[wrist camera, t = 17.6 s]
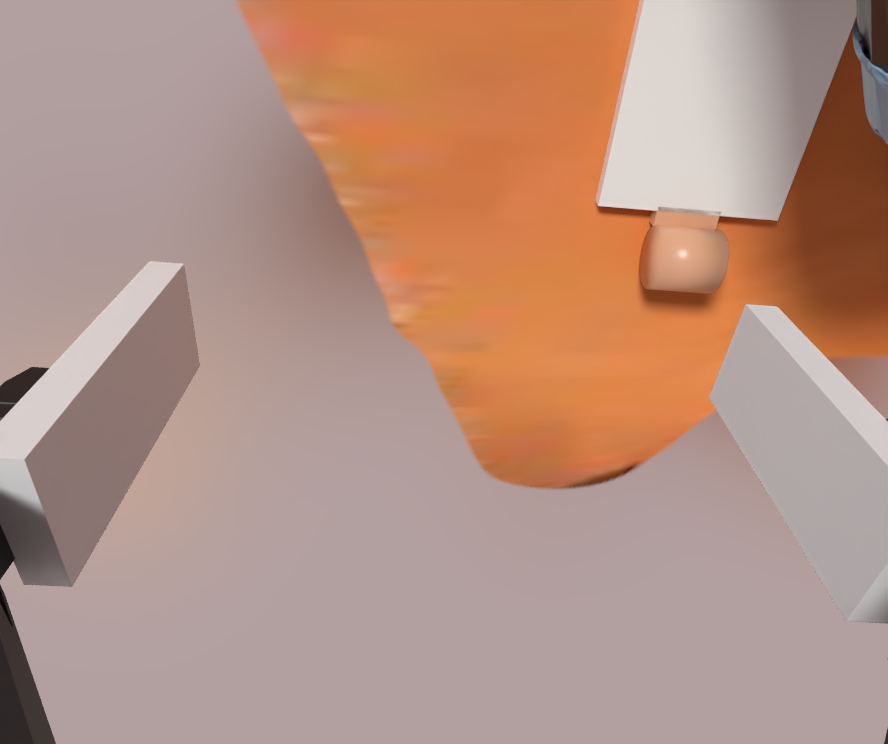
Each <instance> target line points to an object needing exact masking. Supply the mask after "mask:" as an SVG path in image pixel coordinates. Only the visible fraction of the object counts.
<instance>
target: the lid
mask: <svg viewBox="0 0 888 744" xmlns="http://www.w3.org/2000/svg"><path fill="white" fill-rule="evenodd" d="M856 16H857V2H856V0H640V2H639V6H638V11H637V15H636V20H635V24H634V29H633V33H632V38H631V42H630V47H629V51H628V56H627V60H626V65H625V69H624V74H623V78H622V83H621V87H620V92H619V97H618V101H617V106H616V110H615V115H614V119H613V124H612V128H611V133H610V137H609V142H608V146H607V151H606V155H605V160H604V164H603V169H602V173H601V178H600V182H599V187H598V191H597V196H596V200H595V202H596V203H597V205H598V206H604V207H616V208H629V209H641V210H652V212H651V216H650V220H649V222H650V223H651V224H652V227H651V228H650V229H649V231H648V232H647V234H646V236H645V239H644V242H643V245H642V249H641V254H640V264H639V273H640V280H641V283H642V285H643V287H644V288H645V289H650V290H664V291H677V292H690V293H704V294H711V293H713V292H715V291H716V290H717V289H718V288H719V286H720V285H721V283H722V281H723V279H724V276H725V274H726V270H727V266H728V260H729V245H728V240H727V237H726V235H725V234H724V232H723V231H721V230H715V229H716V226H717V223H718V220H719V217H720V216H727V217H739V218H751V219H764V220H776V221H778V218H779V216H780V213H781V211H782V208H783V205H784V203H785V200H786V198H787V195H788V193H789V190H790V187H791V185H792V182H793V180H794V177H795V174H796V172H797V169H798V167H799V164H800V161H801V159H802V156H803V154H804V151H805V148H806V146H807V143H808V141H809V138H810V136H811V133H812V130H813V128H814V125H815V123H816V120H817V117H818V115H819V112H820V110H821V107H822V104H823V102H824V99H825V97H826V94H827V91H828V89H829V86H830V84H831V81H832V79H833V76H834V73H835V71H836V68H837V66H838V63H839V60H840V58H841V55H842V53H843V50H844V47H845V45H846V42H847V40H848V37H849V34H850V32H851V29H852V27H853V24H854V21H855V19H856Z"/></svg>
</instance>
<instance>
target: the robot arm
mask: <svg viewBox="0 0 888 744" xmlns="http://www.w3.org/2000/svg"><path fill="white" fill-rule="evenodd" d="M856 2H857V22H856V24H855V26H854V29H853V46H854V49H855V53H856V56H857V57H858V59H859V61H860V62H861V69H862V81H863V92H864V103H865V111H866V115H867V118H868V121H869V123H870V126H871V128H872V129H873V131H874V132H875V133H876V134H877V135H878V136H880V137H881V138H882V139H884V140H885V142H886V144H888V0H856ZM199 366H200V363H199V357H198V351H197V344H196V337H195V331H194V325H193V319H192V313H191V305H190V299H189V293H188V286H187V280H186V273H185V267H184V264H180V263H165V262H152V261H150V262H149V263H148V264H147V265H146V266H145V267H144V268H143V269H142V270H141V271H140V272H139V273H138V274H137V275H136V276H135V277H134V279H133V280H132V281H131V282H130V283H129V284H128V285H127V286H126V287H125V288H124V289H123V290H122V291H121V293H119V295H118V296H117V297H116V298H115V299H114V300H113V301H112V302H111V303H110V304H109V305H108V306H107V307H106V308H105V310H104V311H103V312H102V313H101V314H100V315H99V316H98V317H97V318H96V319H95V320H94V321H93V322H92V323H91V325H90V326H89V327H88V328H87V329H86V330H85V331H84V332H83V333H82V334H81V335H80V336H79V337H78V338H77V340H76V341H75V342H74V343H73V344H72V345H71V346H70V347H69V348H68V349H67V350H66V351H65V352H64V353H63V354H62V356H61V357H60V358H59V359H58V360H57V361H56V362H55V363H54V364H53V365H52V366H51V367H50V368H39V367H31V368H29V369H27V370H26V371H24V372H22V373H20V374H18V375H16V376H15V377H13V378H11V379H9V380H7V381H6V382H4V383H3V384H2V385H1V386H0V579H1V577H2V576H3V575H4V573H5V572H6V571H7V569H8V568H9V566H10V565H11V563H12V562H13V561H14V563H15V565H16V568H17V570H18V572H19V575H20V577H21V579H22V581H23V584H24V585H45V586H46V585H47V586H68V587H72V586H73V585H74V583H75V581H76V579H77V577H78V576H79V574H80V572H81V571H82V569H83V567H84V565H85V564H86V562H87V560H88V558H89V557H90V555H91V553H92V552H93V550H94V548H95V546H96V545H97V543H98V541H99V539H100V538H101V536H102V534H103V533H104V531H105V529H106V527H107V526H108V524H109V522H110V520H111V518H112V517H113V515H114V513H115V512H116V510H117V508H118V506H119V505H120V503H121V501H122V500H123V498H124V496H125V494H126V493H127V491H128V489H129V487H130V486H131V484H132V482H133V480H134V479H135V477H136V475H137V473H138V472H139V470H140V468H141V467H142V465H143V463H144V461H145V460H146V458H147V456H148V454H149V453H150V451H151V449H152V448H153V446H154V444H155V442H156V441H157V439H158V437H159V435H160V434H161V432H162V430H163V428H164V427H165V425H166V423H167V422H168V420H169V418H170V416H171V415H172V413H173V411H174V409H175V408H176V406H177V404H178V402H179V401H180V399H181V397H182V396H183V394H184V392H185V390H186V388H187V387H188V385H189V383H190V382H191V380H192V378H193V376H194V375H195V373H196V371H197V370H198V368H199ZM709 398H710V400H711V401H712V403H713V405H714V406H715V408H716V409H717V411H718V413H719V414H720V416H721V418H722V419H723V421H724V423H725V424H726V426H727V427H728V429H729V430H730V432H731V434H732V435H733V437H734V439H735V441H736V442H737V444H738V446H739V447H740V449H741V450H742V452H743V454H744V455H745V457H746V459H747V460H748V462H749V463H750V465H751V466H752V468H753V470H754V472H755V473H756V475H757V477H758V478H759V480H760V482H761V483H762V485H763V486H764V488H765V489H766V491H767V493H768V495H769V496H770V498H771V500H772V501H773V503H774V504H775V506H776V507H777V509H778V511H779V513H780V514H781V516H782V518H783V519H784V521H785V522H786V524H787V526H788V527H789V529H790V531H791V532H792V534H793V535H794V537H795V539H796V540H797V542H798V544H799V545H800V547H801V549H802V550H803V552H804V554H805V555H806V557H807V558H808V560H809V562H810V563H811V565H812V567H813V568H814V570H815V572H816V573H817V575H818V576H819V578H820V580H821V581H822V583H823V585H824V586H825V588H826V590H827V591H828V593H829V594H830V596H831V598H832V599H833V601H834V603H835V604H836V606H837V608H838V609H839V611H840V612H841V614H842V616H843V617H844V619H845V621H846V622H848V621H849V622H868V623H888V419H885V418H884V417H883V416H882V415H881V414H880V413H879V412H878V411H877V410H876V409H875V408H874V407H873V406H872V405H871V404H870V403H869V402H868V401H867V400H866V399H865V398H864V396H863V395H861V393H860V392H859V391H858V390H857V389H856V388H855V387H854V386H853V385H852V384H851V383H850V382H849V381H848V380H847V379H846V378H845V377H844V376H843V375H842V374H841V373H840V372H839V370H837V368H836V367H835V366H834V365H833V364H832V363H830V361H829V360H828V359H827V358H826V357H825V356H824V355H823V354H822V353H821V352H820V351H819V350H818V349H817V348H816V347H815V345H814V344H813V343H812V342H811V341H810V340H809V339H808V338H807V337H806V336H805V335H804V334H803V333H802V332H801V331H800V330H799V329H798V328H797V327H796V326H795V325H794V324H793V323H792V322H791V320H790V319H789V318H788V317H787V316H786V315H785V314H784V313H783V312H782V311H781V310H780V309H779V308H778V307H777V306H765V305H751V304H746V305H745V307H744V310H743V313H742V315H741V318H740V320H739V323H738V325H737V328H736V331H735V333H734V336H733V338H732V341H731V343H730V346H729V349H728V351H727V354H726V356H725V359H724V361H723V364H722V367H721V369H720V372H719V374H718V377H717V379H716V382H715V384H714V387H713V390H712V392H711V395H710V397H709ZM0 744H56V743H55V740H54V737H53V734H52V731H51V728H50V725H49V722H48V720H47V717H46V714H45V711H44V708H43V705H42V702H41V699H40V696H39V693H38V690H37V688H36V684H35V682H34V679H33V676H32V673H31V670H30V667H29V664H28V661H27V658H26V655H25V652H24V650H23V646H22V644H21V641H20V638H19V635H18V632H17V629H16V626H15V623H14V620H13V617H12V615H11V611H10V609H9V606H8V603H7V600H6V597H5V594H4V592H3V590H2V588H1V585H0ZM884 744H888V729H887V734H886V738H885V743H884Z"/></svg>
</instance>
